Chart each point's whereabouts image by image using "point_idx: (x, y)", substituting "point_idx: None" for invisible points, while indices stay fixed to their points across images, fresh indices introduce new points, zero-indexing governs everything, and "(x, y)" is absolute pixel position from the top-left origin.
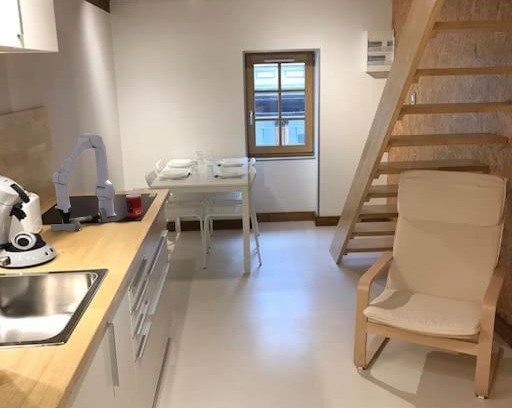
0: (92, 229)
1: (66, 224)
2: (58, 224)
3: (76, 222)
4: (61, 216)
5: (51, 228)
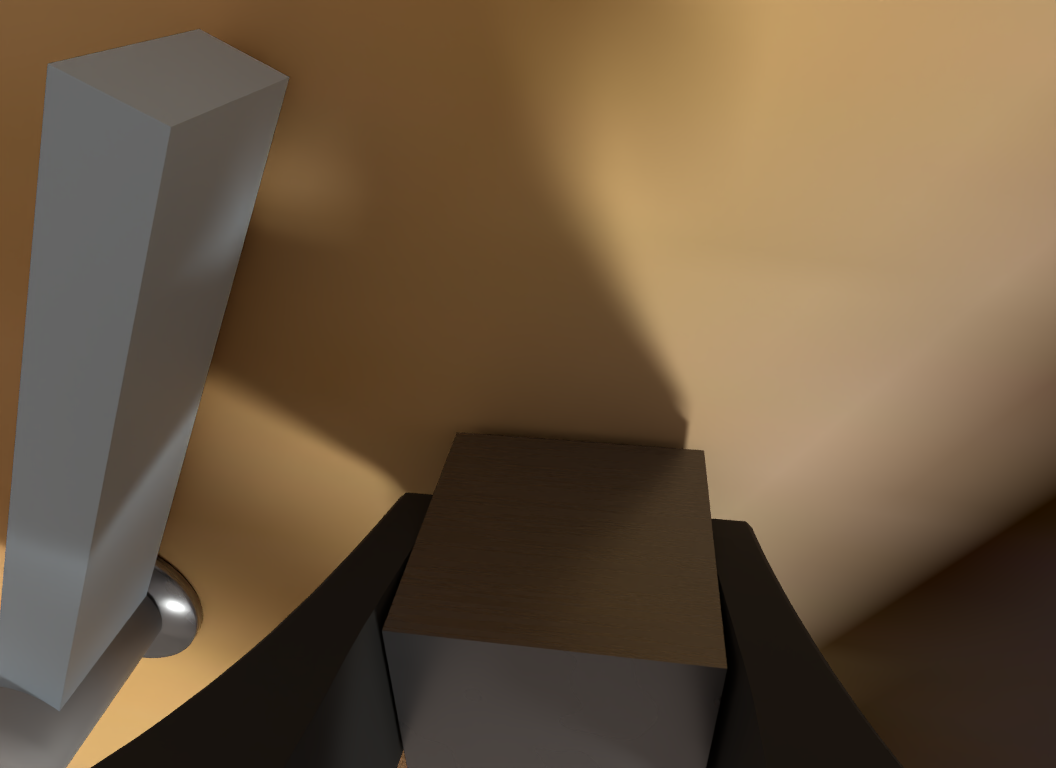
0: (121, 742)
1: (31, 555)
2: (83, 373)
3: (34, 753)
4: (205, 737)
5: (145, 58)
